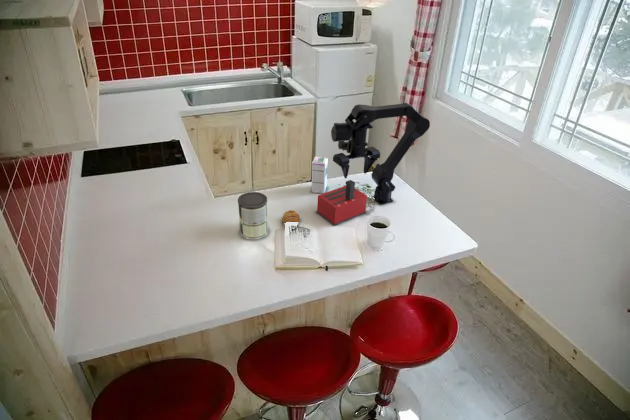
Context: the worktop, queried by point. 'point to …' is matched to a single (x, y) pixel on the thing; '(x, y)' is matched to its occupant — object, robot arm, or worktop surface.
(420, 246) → the worktop surface
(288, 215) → the pastry
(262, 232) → the coffee can
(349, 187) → the slider
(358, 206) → the toaster
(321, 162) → the syrup box
